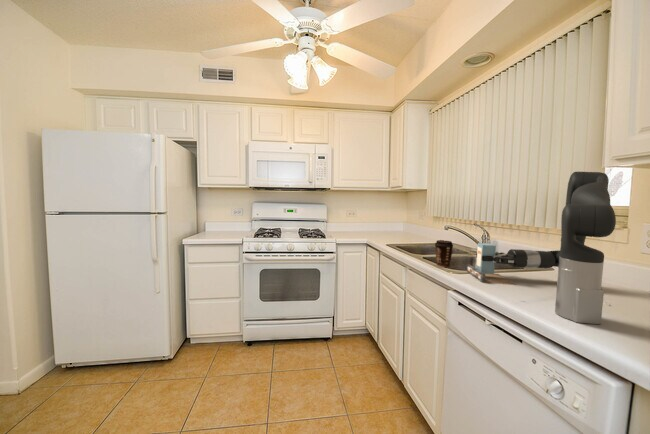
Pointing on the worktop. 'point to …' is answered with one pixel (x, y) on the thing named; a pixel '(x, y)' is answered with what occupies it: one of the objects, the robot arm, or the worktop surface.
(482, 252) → the carton
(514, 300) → the worktop surface
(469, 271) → the shelf board
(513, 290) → the worktop surface
